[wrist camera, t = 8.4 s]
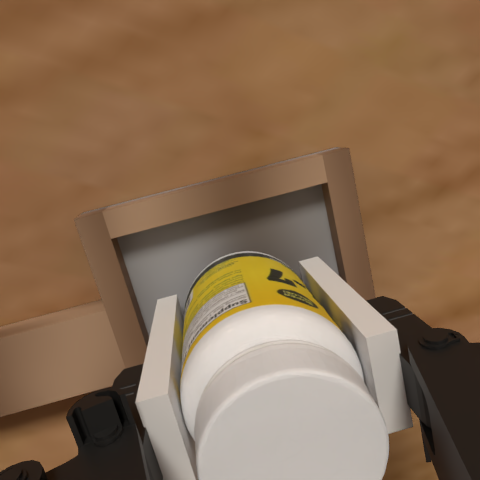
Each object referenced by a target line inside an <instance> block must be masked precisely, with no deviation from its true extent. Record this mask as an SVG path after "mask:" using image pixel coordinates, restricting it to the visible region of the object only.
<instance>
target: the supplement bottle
mask: <svg viewBox="0 0 480 480" xmlns="http://www.w3.org/2000/svg"><path fill="white" fill-rule="evenodd" d="M180 399H181V407H182V413H183V417H184V421H185V424H186V426H187V429H188V431H189V433H190V435H191V436H192V438H193V440H194V441H195V450H196V468H197V476H198V480H382V478H383V476H384V473H385V470H386V465H387V461H388V456H389V436H388V432H387V427H386V423H385V420H384V418H383V415H382V413H381V411H380V409H379V407H378V406H377V404H376V403H375V401H374V399H373V398H372V396H371V395H370V393H369V391H368V389H367V386H366V385H365V383H364V376H363V371H362V367H361V364H360V361H359V358H358V356H357V354H356V352H355V350H354V348H353V346H352V344H351V343H350V341H349V340H348V339H347V337H346V336H345V334H344V333H343V331H342V330H341V329H340V328H339V327H338V326H337V324H336V323H335V322H334V320H333V319H332V318H331V317H330V316H329V314H328V313H327V312H326V310H325V309H324V308H323V306H322V305H321V304H320V303H319V302H318V300H317V299H316V298H315V297H314V295H313V294H312V293H311V292H310V290H309V289H308V288H307V287H306V285H305V284H304V283H303V281H302V280H301V279H300V278H299V277H298V275H297V274H296V273H295V272H294V271H293V270H292V269H291V268H290V267H289V266H288V265H286V264H285V263H284V262H282V261H281V260H279V259H277V258H275V257H273V256H271V255H268V254H265V253H261V252H254V251H242V252H235V253H231V254H228V255H225V256H223V257H220V258H218V259H217V260H215V261H213V262H212V263H210V264H209V265H208V266H207V267H205V268H204V269H203V270H202V271H201V272H200V273H199V275H198V276H197V277H196V279H195V280H194V282H193V283H192V285H191V287H190V289H189V292H188V295H187V298H186V302H185V311H184V327H183V346H182V366H181V379H180Z"/></svg>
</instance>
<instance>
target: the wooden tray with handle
mask: <svg viewBox="0 0 480 480" xmlns="http://www.w3.org/2000/svg"><path fill="white" fill-rule="evenodd" d="M74 221H75V224H76V227H77V230H78V233H79V236H80V239H81V242H82V244H83V247H84V250H85V253H86V256H87V259H88V262H89V265H90V267H91V270H92V273H93V276H94V279H95V282H96V285H97V288H98V290H99V293H100V296H101V299H102V300H99V301H95V302H91V303H87V304H84V305H80V306H76V307H72V308H69V309H65V310H61V311H58V312H54V313H50V314H46V315H43V316H39V317H35V318H32V319H28V320H24V321H20V322H17V323H13V324H9V325H5V326H2V327H0V417H2V416H6V415H9V414H13V413H17V412H20V411H24V410H27V409H31V408H35V407H38V406H42V405H45V404H49V403H52V402H56V401H60V400H63V399H67V398H70V397H74V396H78V395H81V394H85V393H88V392H92V391H95V390H99V389H103V388H106V387H110V386H112V385H113V382H114V380H115V378H116V377H117V376H118V375H119V374H120V373H121V372H122V370H123V369H125V368H129V367H133V366H136V365H140V364H143V363H144V360H145V355H146V351H147V346H148V341H149V337H150V332H151V327H152V323H153V318H154V313H155V309H156V304H157V300H158V299H161V298H165V297H169V296H173V295H176V294H177V295H178V299H179V302H180V305H181V309H182V312H183V315H184V311H185V302H186V298H187V295H188V292H189V289H190V287H191V285H192V283H193V282H194V280H195V279H196V277H197V276H198V275H199V273H200V272H201V271H202V270H203V269H204V268H205V267H207V266H208V265H209V264H210V263H212V262H213V261H215V260H217V259H218V258H220V257H223V256H225V255H228V254H231V253H235V252H242V251H254V252H261V253H265V254H268V255H271V256H273V257H275V258H277V259H279V260H281V261H282V262H284V263H285V264H286V265H288V266H289V267H290V268H291V269H292V270H293V271H294V272H295V273H296V274H297V275H298V277H299V278H300V279H301V280H302V281H303V279H302V274H301V270H300V265H299V261H302V260H306V259H310V258H313V257H317V256H318V257H319V258H320V259H321V260H322V261H323V262H324V263H325V264H327V265H328V266H329V267H330V268H331V269H332V270H333V271H334V272H335V273H336V274H337V275H338V276H340V277H341V278H342V279H343V280H344V281H345V282H346V283H347V284H348V285H349V286H350V287H351V288H353V289H354V290H355V291H356V292H357V293H358V294H359V295H360V296H361V297H362V298H363V299H364V300H366V301H367V300H370V299H374V298H376V297H375V292H374V286H373V280H372V275H371V269H370V263H369V258H368V252H367V247H366V241H365V235H364V230H363V224H362V218H361V213H360V207H359V201H358V196H357V190H356V184H355V179H354V173H353V167H352V162H351V156H350V151H349V148H338V147H336V148H332V149H328V150H324V151H321V152H317V153H313V154H309V155H305V156H301V157H297V158H293V159H289V160H286V161H282V162H278V163H274V164H270V165H266V166H262V167H258V168H255V169H251V170H247V171H243V172H239V173H235V174H231V175H227V176H224V177H220V178H216V179H212V180H208V181H204V182H200V183H196V184H192V185H189V186H185V187H181V188H177V189H173V190H169V191H165V192H161V193H158V194H154V195H150V196H146V197H142V198H138V199H134V200H130V201H127V202H123V203H119V204H115V205H111V206H107V207H103V208H99V209H96V210H92V211H88V212H84V213H82V214H81V215H79V216H78V217H76V218H75V219H74Z"/></svg>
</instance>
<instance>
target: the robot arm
mask: <svg viewBox="0 0 480 480" xmlns="http://www.w3.org/2000/svg"><path fill="white" fill-rule="evenodd" d="M299 265H300V270H301V274H302V279H303V283H304V284H305V285H306V287H307V288H308V289H309V290H310V292H311V293H312V294H313V295H314V297H315V298H316V299H317V300H318V302H319V303H320V304H321V305H322V306H323V308H324V309H325V310H326V312H327V313H328V314H329V316H330V317H331V318H332V319H333V320H334V322H335V323H336V324H337V326H338V327H339V328H340V329H341V330H342V331H343V333H344V334H345V336H346V337H347V339H348V340H349V341H350V343H351V344H352V346H353V348H354V350H355V352H356V354H357V356H358V358H359V361H360V364H361V367H362V371H363V376H364V383H365V385H366V386H367V389H368V391H369V393H370V395H371V396H372V398H373V399H374V401H375V403H376V404H377V406H378V407H379V409H380V411H381V413H382V415H383V418H384V420H385V423H386V427H387V432H388V434H390V433H393V432H397V431H400V430H404V429H407V428H410V427H413V423H412V417H411V411H410V408H411V409H412V410H413V411H414V413H415V414H416V415H417V416H418V418H419V420H420V426H421V432H422V438H423V445H424V451H425V457H426V462H431V460H432V463H433V465H434V468H435V470H436V473H437V476H438V478H439V480H480V343H469V342H468V341H467V339H466V338H465V337H464V336H463V335H461V334H460V333H459V332H456V331H453V330H450V329H443V328H431V327H430V326H429V325H427V324H426V323H425V322H423V321H422V320H421V319H420V318H418V317H417V316H416V315H415V314H412V312H411V311H409V310H408V309H407V308H406V309H405V307H404V306H403V305H402V304H400V303H399V302H398V301H397V300H394V299H391V298H387V297H384V296H381V297H377V298H374V299H370V300H367V301H366V300H364V299H363V298H362V297H361V296H360V295H359V294H358V293H357V292H356V291H355V290H354V289H353V288H351V287H350V286H349V285H348V284H347V283H346V282H345V281H344V280H343V279H342V278H341V277H340V276H338V275H337V274H336V273H335V272H334V271H333V270H332V269H331V268H330V267H329V266H328V265H327V264H325V263H324V262H323V261H322V260H321V259H320V258H319V257H318V256H317V257H313V258H310V259H306V260H302V261H299ZM183 327H184V315H183V312H182V309H181V305H180V302H179V299H178V295H177V294H176V295H173V296H169V297H165V298H161V299H158V300H157V304H156V309H155V313H154V318H153V323H152V327H151V332H150V337H149V341H148V346H147V351H146V355H145V360H144V363H143V364H140V365H136V366H133V367H129V368H125V369H123V370H122V372H121V373H120V374H119V375H118V376H117V377H116V378H115V380H114V382H113V385H112V387H110V388H104V389H100V390H97V391H94V392H92V393H90V394H88V395H86V396H84V397H83V398H82V399H80V400H79V401H78V402H76V403H75V404H74V405H73V406H72V407H71V409H70V410H69V411H68V414H67V416H66V418H67V421H68V423H69V426H70V428H71V431H72V433H73V436H74V438H75V441H76V443H77V446H78V455H77V456H76V457H75V458H73V459H71V460H70V461H68V462H66V463H64V464H62V465H60V466H58V467H56V468H54V469H52V470H50V471H48V472H46V473H45V471H44V469H43V467H42V465H41V463H40V462H37V461H34V460H31V461H24V462H20V463H18V464H15V465H12V466H10V467H8V468H6V469H5V470H3V471H1V472H0V480H198V476H197V468H196V450H195V441H194V440H193V438H192V436H191V435H190V433H189V431H188V429H187V426H186V424H185V421H184V417H183V413H182V407H181V399H180V379H181V366H182V346H183Z"/></svg>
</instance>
